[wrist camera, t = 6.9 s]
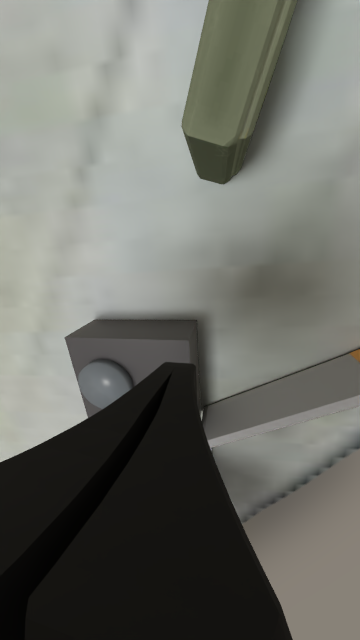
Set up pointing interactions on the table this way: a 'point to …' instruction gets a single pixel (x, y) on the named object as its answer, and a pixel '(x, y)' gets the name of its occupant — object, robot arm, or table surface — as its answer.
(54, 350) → the table surface
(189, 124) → the handheld radio
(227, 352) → the table surface
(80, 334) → the camera body
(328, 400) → the side door
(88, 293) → the table surface
